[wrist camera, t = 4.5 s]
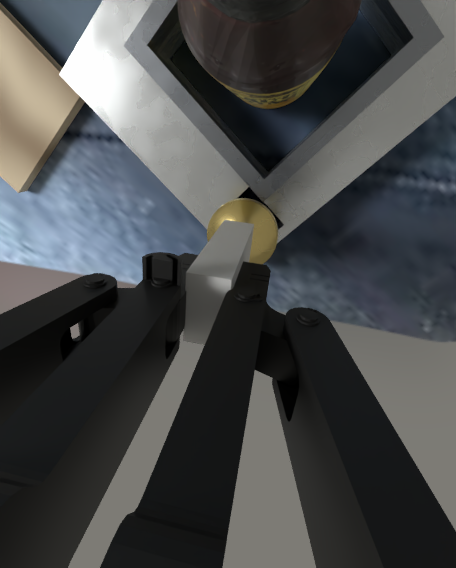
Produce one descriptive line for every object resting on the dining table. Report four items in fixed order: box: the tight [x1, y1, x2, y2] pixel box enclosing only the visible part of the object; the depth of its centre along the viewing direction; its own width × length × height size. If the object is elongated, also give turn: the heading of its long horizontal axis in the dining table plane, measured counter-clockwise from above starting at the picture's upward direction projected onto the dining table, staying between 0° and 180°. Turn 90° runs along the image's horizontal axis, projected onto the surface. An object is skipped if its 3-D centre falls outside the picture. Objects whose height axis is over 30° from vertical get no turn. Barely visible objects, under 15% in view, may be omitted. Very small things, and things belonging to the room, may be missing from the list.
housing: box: [59, 0, 456, 243], centre depth 19 cm, size 21×18×4 cm
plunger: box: [207, 198, 278, 264], centre depth 22 cm, size 4×4×4 cm
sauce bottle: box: [177, 0, 362, 109], centre depth 12 cm, size 7×6×20 cm
